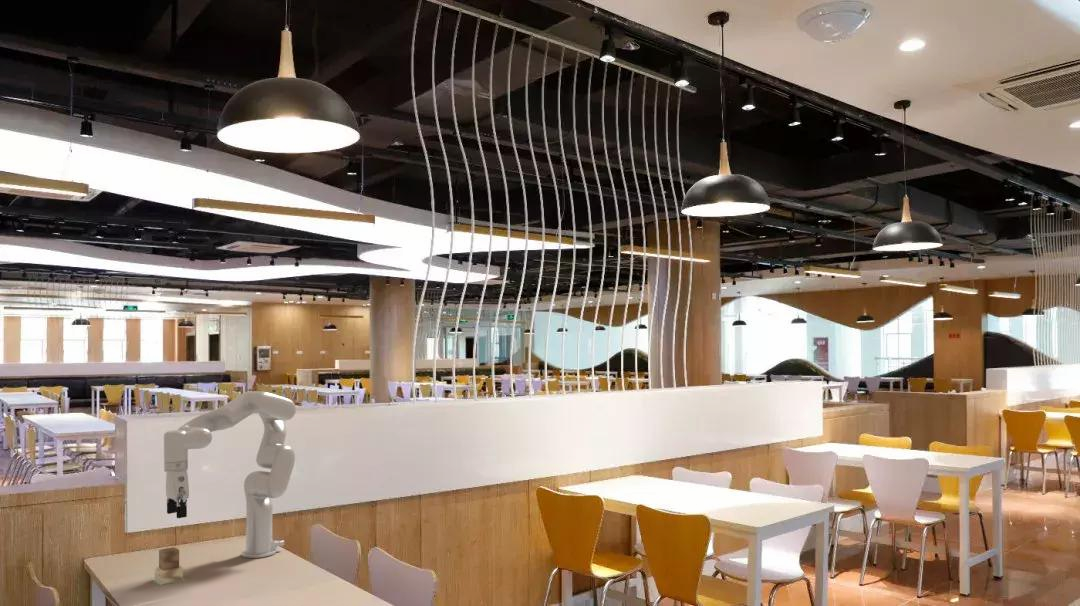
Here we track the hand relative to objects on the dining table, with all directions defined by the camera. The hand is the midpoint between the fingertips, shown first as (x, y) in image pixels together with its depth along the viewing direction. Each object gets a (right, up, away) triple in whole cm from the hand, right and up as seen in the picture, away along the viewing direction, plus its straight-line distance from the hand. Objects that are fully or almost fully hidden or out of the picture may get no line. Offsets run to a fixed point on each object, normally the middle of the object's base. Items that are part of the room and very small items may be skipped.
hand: (176, 515), depth 271 cm
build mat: (0, -21, -5) cm, 22 cm away
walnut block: (0, -17, -5) cm, 17 cm away
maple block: (0, -21, -5) cm, 21 cm away
